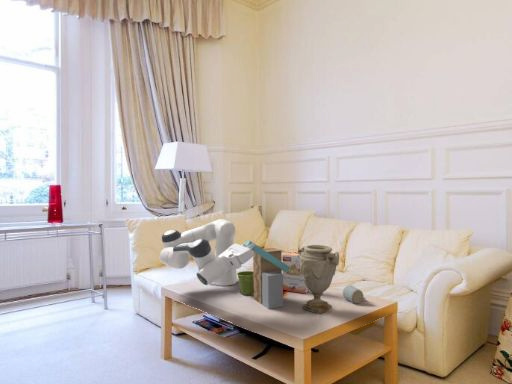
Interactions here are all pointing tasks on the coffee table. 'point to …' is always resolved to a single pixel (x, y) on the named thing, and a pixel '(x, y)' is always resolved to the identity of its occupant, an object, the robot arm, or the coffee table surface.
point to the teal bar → (268, 257)
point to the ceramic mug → (353, 294)
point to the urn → (317, 274)
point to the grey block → (272, 289)
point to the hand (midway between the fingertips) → (252, 243)
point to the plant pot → (246, 282)
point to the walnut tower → (263, 270)
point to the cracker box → (293, 274)
